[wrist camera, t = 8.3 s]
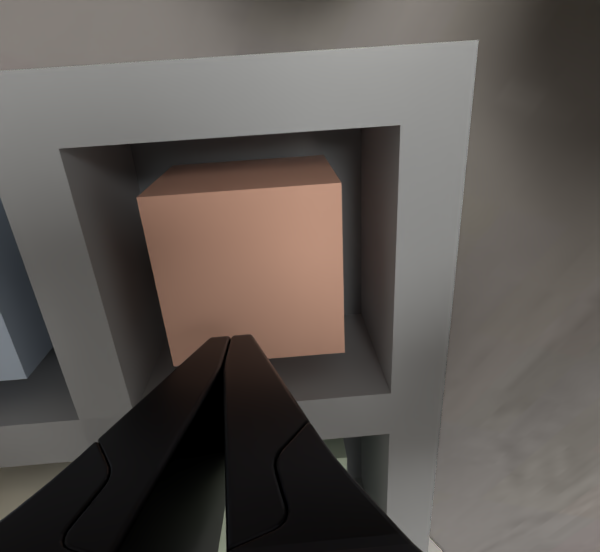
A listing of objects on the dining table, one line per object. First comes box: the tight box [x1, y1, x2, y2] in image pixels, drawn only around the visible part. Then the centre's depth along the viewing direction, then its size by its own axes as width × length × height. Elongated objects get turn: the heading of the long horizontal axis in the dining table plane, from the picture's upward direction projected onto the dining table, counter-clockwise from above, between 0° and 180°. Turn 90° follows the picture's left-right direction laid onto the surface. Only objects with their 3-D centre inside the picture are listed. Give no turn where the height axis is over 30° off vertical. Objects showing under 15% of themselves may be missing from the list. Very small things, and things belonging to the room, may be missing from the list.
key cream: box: [0, 461, 73, 520], centre depth 15 cm, size 5×5×4 cm
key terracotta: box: [136, 155, 345, 366], centre depth 14 cm, size 5×5×4 cm
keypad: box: [0, 40, 479, 552], centre depth 16 cm, size 20×20×5 cm
